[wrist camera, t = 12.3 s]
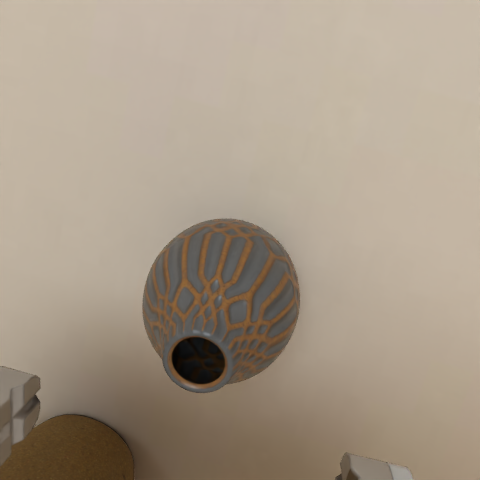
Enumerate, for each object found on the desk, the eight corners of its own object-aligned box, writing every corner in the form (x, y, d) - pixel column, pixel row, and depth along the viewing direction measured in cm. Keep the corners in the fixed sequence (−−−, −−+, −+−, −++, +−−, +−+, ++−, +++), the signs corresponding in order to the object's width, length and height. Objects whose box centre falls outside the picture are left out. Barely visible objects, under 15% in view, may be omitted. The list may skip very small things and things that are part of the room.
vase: (174, 200, 20) (91, 251, 11) (305, 213, 19) (319, 277, 11) (171, 316, 22) (99, 432, 13) (289, 331, 21) (291, 463, 13)
